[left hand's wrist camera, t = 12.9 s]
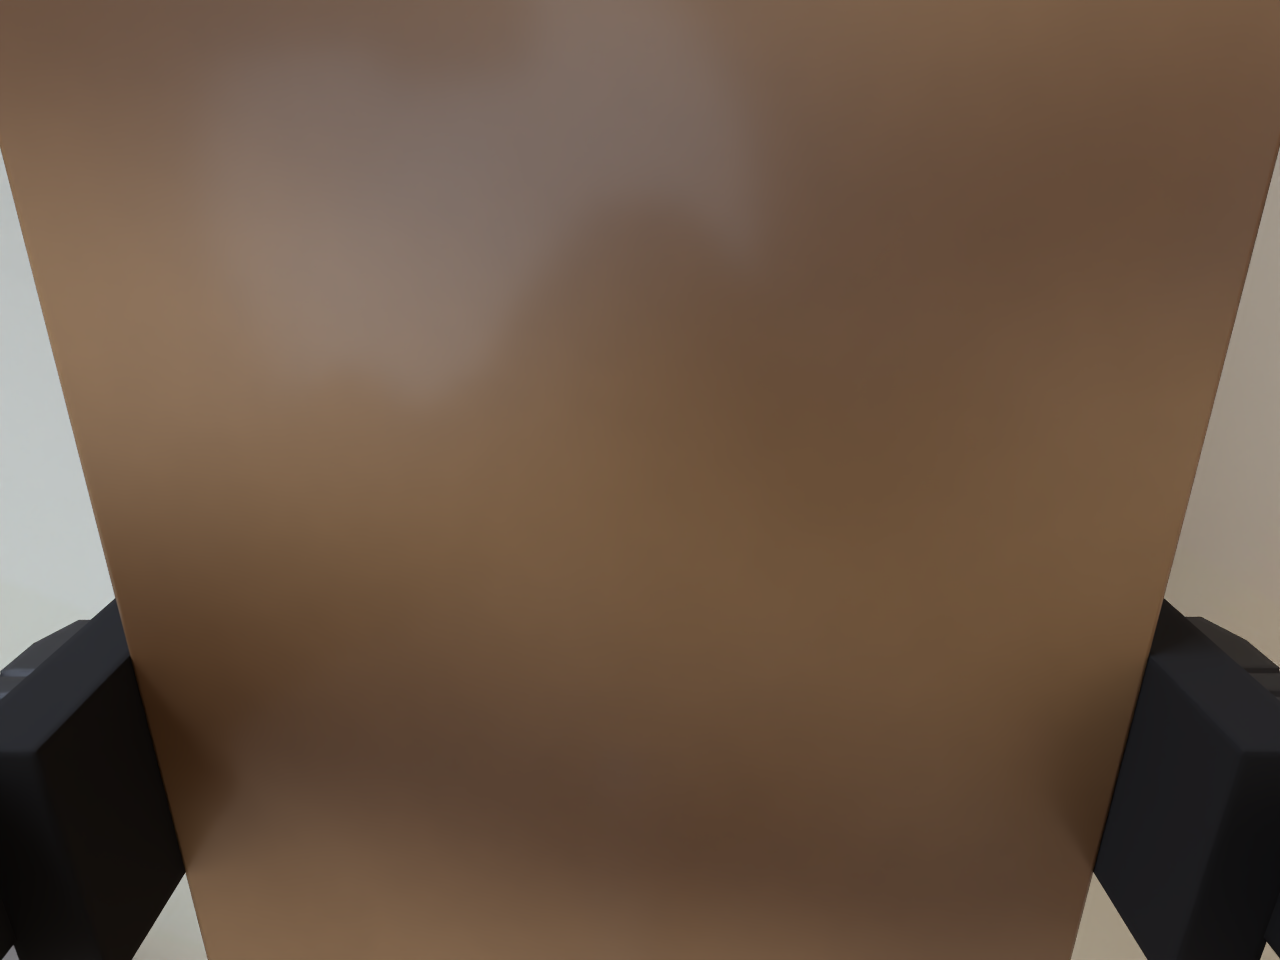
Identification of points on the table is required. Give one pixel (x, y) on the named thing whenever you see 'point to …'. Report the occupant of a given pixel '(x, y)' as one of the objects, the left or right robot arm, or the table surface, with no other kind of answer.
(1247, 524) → the table surface
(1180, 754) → the left robot arm
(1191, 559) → the table surface
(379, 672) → the wooden rectangular block
